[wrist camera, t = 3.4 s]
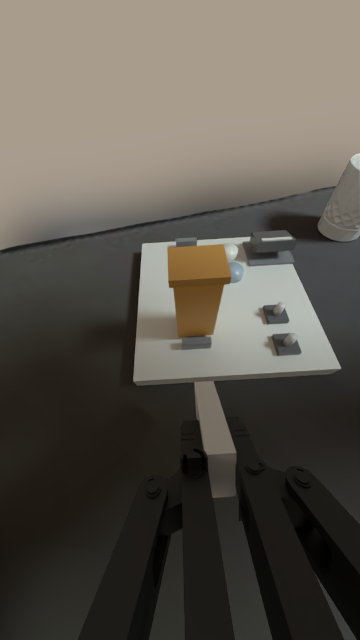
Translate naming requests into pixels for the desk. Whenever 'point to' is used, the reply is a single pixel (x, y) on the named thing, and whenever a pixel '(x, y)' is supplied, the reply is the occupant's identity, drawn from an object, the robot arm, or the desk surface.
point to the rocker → (272, 241)
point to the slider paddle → (197, 286)
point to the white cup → (344, 206)
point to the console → (230, 322)
